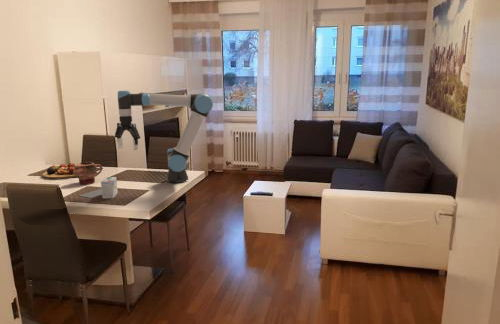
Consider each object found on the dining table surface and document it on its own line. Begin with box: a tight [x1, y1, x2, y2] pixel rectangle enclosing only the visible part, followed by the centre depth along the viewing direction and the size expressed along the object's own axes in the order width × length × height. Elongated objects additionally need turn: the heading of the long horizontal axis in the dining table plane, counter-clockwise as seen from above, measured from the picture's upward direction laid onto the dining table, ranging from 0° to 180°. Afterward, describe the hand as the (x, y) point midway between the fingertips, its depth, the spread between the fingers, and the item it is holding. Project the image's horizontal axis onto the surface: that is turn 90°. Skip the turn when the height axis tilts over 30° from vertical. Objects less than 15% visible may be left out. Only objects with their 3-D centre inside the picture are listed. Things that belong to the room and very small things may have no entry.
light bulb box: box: [100, 176, 119, 199], centre depth 234 cm, size 11×7×11 cm, turn 5°
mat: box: [78, 188, 102, 199], centre depth 241 cm, size 11×18×1 cm, turn 152°
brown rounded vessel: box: [73, 161, 103, 185], centre depth 265 cm, size 20×12×14 cm, turn 138°
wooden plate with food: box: [41, 162, 78, 180], centre depth 289 cm, size 32×32×8 cm
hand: (128, 149), depth 244 cm, fingers open, 12 cm apart
